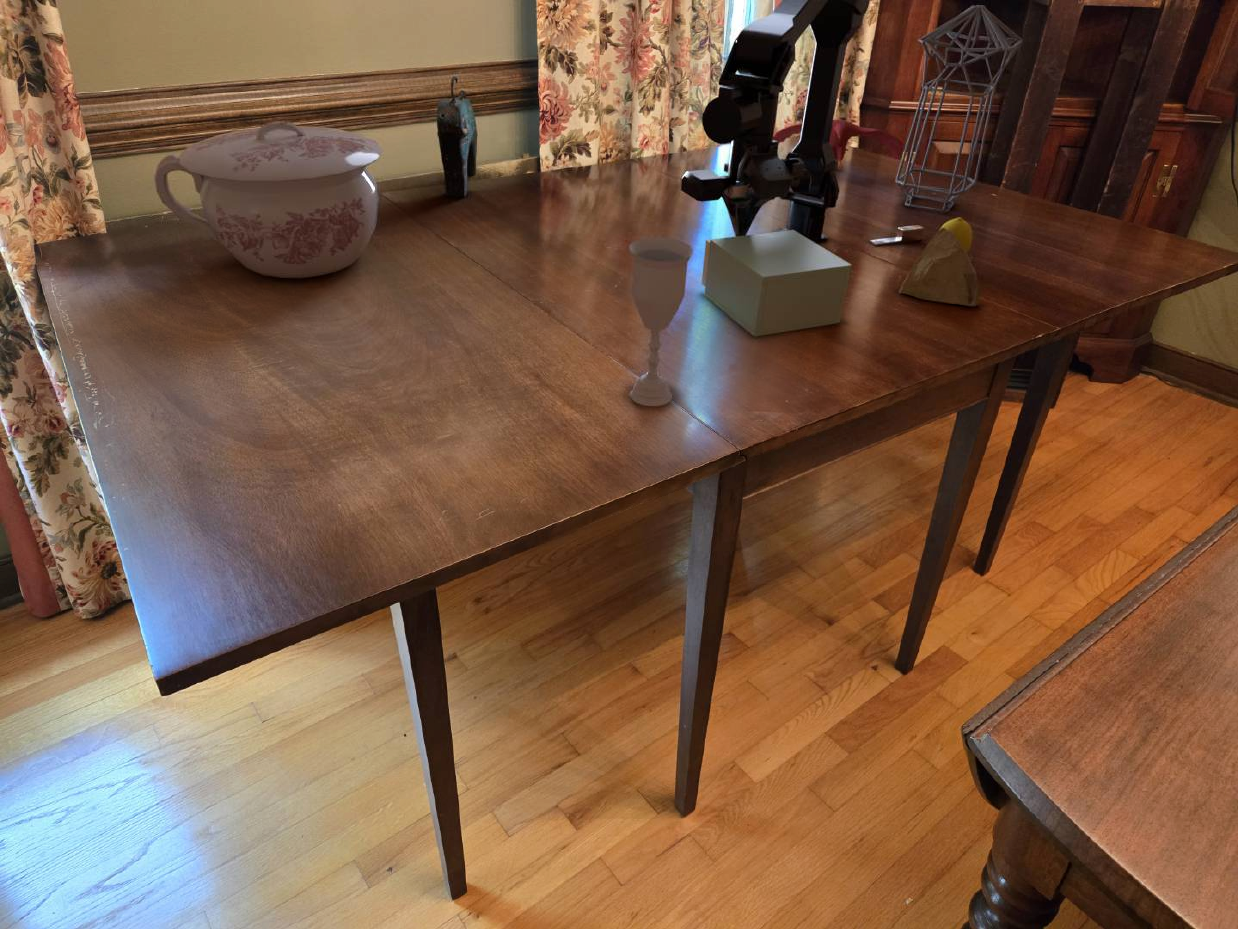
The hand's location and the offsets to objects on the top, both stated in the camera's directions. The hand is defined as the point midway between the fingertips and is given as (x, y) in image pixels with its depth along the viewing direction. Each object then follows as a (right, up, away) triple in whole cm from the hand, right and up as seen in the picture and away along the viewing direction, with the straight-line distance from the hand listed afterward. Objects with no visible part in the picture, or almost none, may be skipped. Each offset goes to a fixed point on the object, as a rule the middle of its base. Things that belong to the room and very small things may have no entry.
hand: (739, 239), depth 124 cm
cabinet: (+4, -11, -4) cm, 13 cm away
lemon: (+36, -1, +13) cm, 39 cm away
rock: (+31, -9, +1) cm, 32 cm away
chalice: (-14, -26, -26) cm, 39 cm away
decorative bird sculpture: (+29, +33, +61) cm, 75 cm away
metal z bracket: (+31, +6, +22) cm, 38 cm away
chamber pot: (-67, -3, +4) cm, 67 cm away
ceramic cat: (-50, +21, +39) cm, 67 cm away
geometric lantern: (+43, +17, +40) cm, 62 cm away
